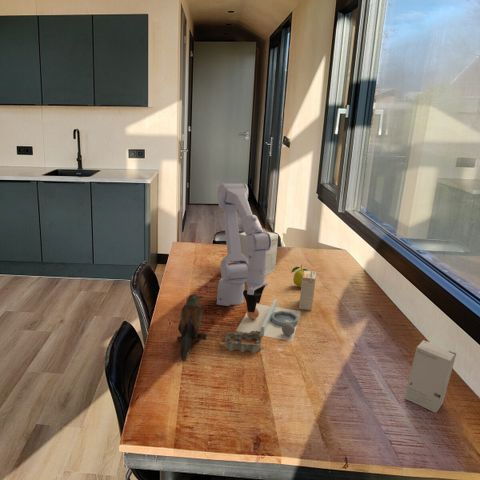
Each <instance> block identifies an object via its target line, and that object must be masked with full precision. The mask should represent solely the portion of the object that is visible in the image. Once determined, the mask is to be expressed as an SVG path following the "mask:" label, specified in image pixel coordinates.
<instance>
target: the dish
mask: <svg viewBox="0 0 480 480" xmlns="http://www.w3.org/2000/svg"><path fill="white" fill-rule="evenodd" d="M298 318H299V317H298V316H297V315H295V314H294V313H292V312H286V311H278V312H273V314H272V316H271V321H272V322H273V323H274V324H276V325H278V326H281V327H282V326H283V325H284V324H285V323H291V324H293V326H296V325H297V326H298V325H299V321H298ZM299 319H300V318H299Z"/></svg>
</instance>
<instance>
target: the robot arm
mask: <svg viewBox="0 0 480 480" xmlns="http://www.w3.org/2000/svg"><path fill="white" fill-rule="evenodd" d="M217 188H218V189H217V192H216V193H217V195H216V196H217V203H218V207H219V208H220V209H222V215H223V223H224V233H225V242H226V251H227V254H226V255H225V256H224V257H223V258H222V259H221V260H220V275H221V278H219V281H218V285H217V296H216V297H217V299H216V305H218V306H225V307H230V306H236V305H241V304H243V303H244V299H245V302H246V308H247V309H246V310H247V311H248V312H253V313H254V311H255V308H256V304H260V301H261V299H262V295H263V292H264V290H265V287H267V286H268V284H269V281H265V279H266V276H265V268H266V256H267V250H269V249H270V247H271V238H270V235H269V233H268V232H269V231H266V230H264V229H263V227H262V225H261V222H260V220H259V218H258V216H257V215H255V214H253V212H252V209H251V206H250V203H249V201H248V200H249V199H248V198H249V187H248V185H247V184H246V183H245V182H243V183H224V182H222V183H220V184H219V186H218V187H217ZM237 211H238V213H239V215H240V217H241V218H242V220H241V226H242V229H243V232H245V234H246V236H247V240H246V244H247V249H248V250H247V253H248V255H249V260H248V258H247V257H245V256H244V255H243V254H242V253H241V247H240V238H239V234H240V230H239V223H238V213H237ZM237 262H240V263H237ZM245 284H246V285H245ZM245 286H246V287H247V290H246V289H245Z"/></svg>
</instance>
